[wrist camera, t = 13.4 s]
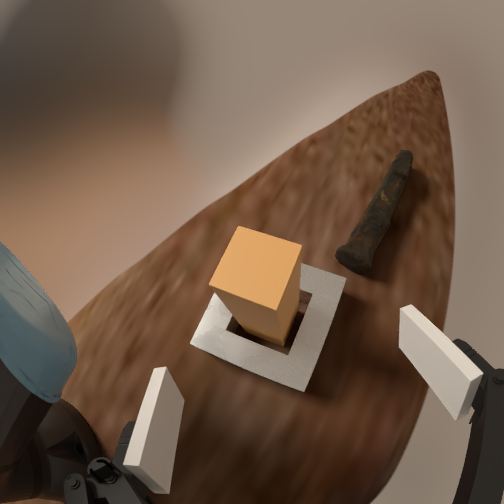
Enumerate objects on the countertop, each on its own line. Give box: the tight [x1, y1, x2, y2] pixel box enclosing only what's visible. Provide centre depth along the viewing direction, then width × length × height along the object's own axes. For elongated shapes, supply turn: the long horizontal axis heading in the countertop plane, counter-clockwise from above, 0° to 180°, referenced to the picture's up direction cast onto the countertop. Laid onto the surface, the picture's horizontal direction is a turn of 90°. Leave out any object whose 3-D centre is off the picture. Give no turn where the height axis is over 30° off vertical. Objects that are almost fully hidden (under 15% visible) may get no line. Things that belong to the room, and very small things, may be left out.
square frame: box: [190, 263, 346, 392], centre depth 27 cm, size 11×11×4 cm
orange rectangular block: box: [209, 226, 302, 347], centre depth 22 cm, size 4×4×14 cm
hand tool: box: [335, 150, 413, 274], centre depth 30 cm, size 19×4×5 cm, turn 141°
